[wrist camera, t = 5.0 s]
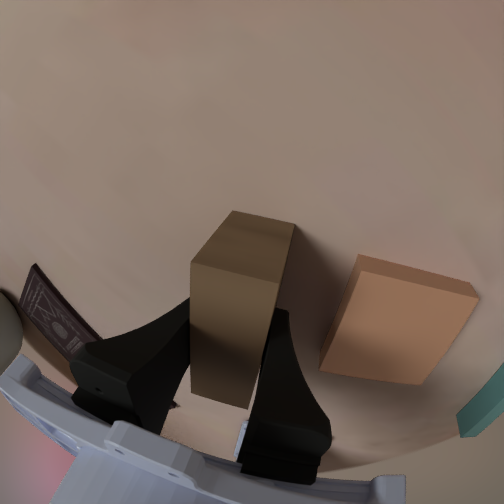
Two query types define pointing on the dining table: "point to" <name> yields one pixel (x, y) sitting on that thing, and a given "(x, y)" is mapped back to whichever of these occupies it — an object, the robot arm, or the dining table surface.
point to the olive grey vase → (9, 333)
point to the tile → (395, 322)
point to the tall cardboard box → (235, 304)
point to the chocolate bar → (55, 316)
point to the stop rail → (483, 407)
